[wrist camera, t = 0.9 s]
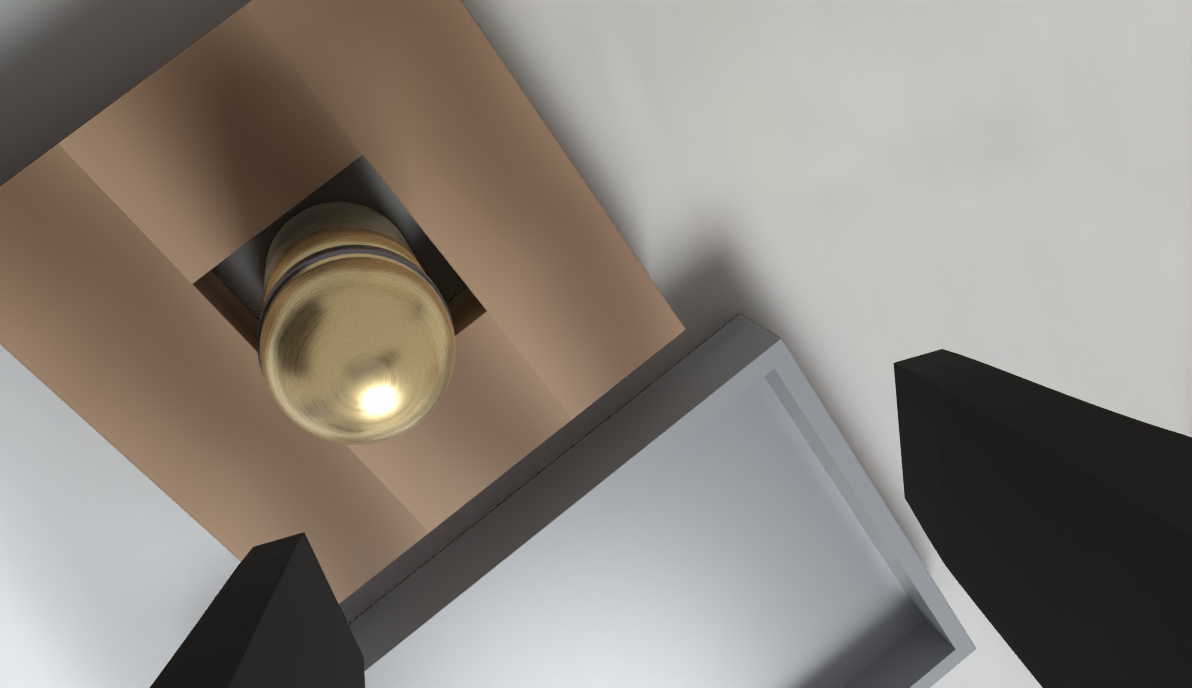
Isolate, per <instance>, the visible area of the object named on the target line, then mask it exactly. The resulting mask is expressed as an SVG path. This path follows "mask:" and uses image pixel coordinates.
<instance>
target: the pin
mask: <svg viewBox="0 0 1192 688" xmlns="http://www.w3.org/2000/svg"><path fill="white" fill-rule="evenodd" d="M257 353H258V360H259V365H260V368H261V372H262V375H263V377H264V380H265V383H266V385H267V387H268V390H269V392H270V394H271V395H272V397H273V399H274V400H275V402H276V403H277V405H278V406H279V408H280V409H281V410H282V411H283V412H284V413H285V415H286V416H287V417H288V418H290V419H291V420H292V421H293V422H294V423H295V424H296V425H298V426H299V427H301V428H302V429H304V430H305V431H307V432H309V433H311V434H313V435H315V436H317V437H319V438H322V439H325V440H327V441H330V442H335V443H339V444H347V445H369V444H376V443H380V442H384V441H388V440H391V439H393V438H396V437H399V436H401V435H403V434H404V433H406V432H408V431H410V430H412V429H413V428H414V427H416V426H417V425H419V424H420V423H421V422H422V421H423V420H425V419H426V418H427V417H428V416H429V415H430V414H431V412H432V411H433V410H434V409H435V408H436V406H437V405H438V403H439V402H440V401H441V399H442V398H443V396H444V394H445V392H446V390H447V388H448V386H449V383H450V381H451V378H452V375H453V370H454V365H455V355H456V343H455V334H454V327H453V322H452V317H451V315H450V312H449V309H448V306H447V304H446V303H445V301H444V299H443V297H442V295H441V293H440V292H439V290H438V288H437V287H436V286H435V284H434V283H433V281H432V280H431V279H430V278H429V277H428V275H427V274H426V273H425V272H424V270H423V268H422V267H421V265H420V263H419V262H418V260H417V258H416V257H415V255H414V254H413V252H412V250H411V249H410V247H409V245H408V244H407V242H406V240H405V239H404V237H403V235H402V234H401V233H400V231H399V230H398V229H397V228H396V226H395V225H394V224H393V223H392V222H391V221H389V220H388V219H387V218H386V217H385V216H383V215H382V214H380V213H378V212H377V211H375V210H373V209H371V208H369V207H366V206H363V205H360V204H356V203H350V202H327V203H322V204H318V205H315V206H312V207H309V208H307V209H305V210H303V211H301V212H299V213H298V214H296V215H295V216H293V217H292V218H291V219H290V220H288V221H287V222H286V223H285V224H284V225H283V226H282V228H281V229H280V230H279V231H278V233H277V234H276V236H275V237H274V239H273V241H272V243H271V245H270V248H269V251H268V254H267V259H266V265H265V279H264V292H263V305H262V311H261V314H260V319H259V325H258V334H257Z"/></svg>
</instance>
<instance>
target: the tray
mask: <svg viewBox="0 0 1192 688" xmlns="http://www.w3.org/2000/svg"><path fill="white" fill-rule="evenodd" d="M349 627H350V629H351V631H352V633H353V636H354V638H355V640H356V642H357V644H358V646H359V648H360V650H361V652H362V655H363V657H364V673H365V688H930V687H931V686H932V685H934V684H935V683H936V682H937V681H938V680H940V679H941V678H942V677H943V676H944V675H946V674H947V673H948V672H949V671H950V670H952V669H953V668H954V667H955V666H956V665H957V664H959V663H960V662H961V661H962V660H963V659H965V658H966V657H967V656H968V655H969V654H971V653H972V652H973V651H974V650H975V649H976V647H975V645H974V644H973V642H972V641H971V639H970V637H969V636H968V634H967V633H966V631H965V629H964V628H963V626H962V625H961V623H960V621H959V620H958V618H957V617H956V615H955V614H954V612H953V610H952V609H951V607H950V606H949V604H948V602H947V601H946V599H945V598H944V596H943V594H942V593H941V591H940V590H939V588H938V587H937V585H936V583H935V582H934V580H933V579H932V577H931V575H930V574H929V572H928V571H927V569H926V567H925V566H924V564H923V563H922V561H921V560H920V558H919V556H918V555H917V553H916V552H915V550H914V548H913V547H912V545H911V544H910V542H909V540H908V539H907V537H906V536H905V534H904V532H903V531H902V529H901V528H900V526H899V525H898V523H897V521H896V520H895V518H894V517H893V515H892V513H891V512H890V510H889V509H888V507H887V505H886V504H885V502H884V501H883V499H882V498H881V496H880V494H879V493H878V491H877V490H876V488H875V486H874V485H873V483H872V482H871V480H870V478H869V477H868V475H867V474H866V472H865V470H864V469H863V467H862V466H861V464H860V463H859V461H858V459H857V458H856V456H855V455H854V453H853V451H852V450H851V448H850V447H849V445H848V443H847V442H846V440H845V439H844V437H843V436H842V434H841V432H840V431H839V429H838V428H837V426H836V424H835V423H834V421H833V420H832V418H831V416H830V415H829V413H828V412H827V410H826V408H825V407H824V405H823V404H822V402H821V401H820V399H819V397H818V396H817V394H816V393H815V391H814V389H813V388H812V386H811V385H810V383H809V381H808V380H807V378H806V377H805V375H804V374H803V372H802V370H801V369H800V367H799V366H798V364H797V362H796V361H795V359H794V358H793V356H792V354H791V353H790V351H789V350H788V348H787V346H786V345H785V343H784V342H783V340H782V339H781V338H780V337H778V336H777V335H775V334H773V333H772V332H770V331H768V330H767V329H765V328H763V327H762V326H760V325H758V324H757V323H755V322H753V321H752V320H750V319H749V318H747V317H745V316H744V315H742V314H739V315H738V316H737V317H735V318H734V319H733V320H731V321H730V322H729V323H728V324H726V325H725V326H724V327H723V328H721V329H720V330H719V331H718V332H716V333H715V334H714V335H713V336H711V337H710V338H709V339H708V340H706V341H705V342H704V343H703V344H701V345H700V346H699V347H697V348H696V349H695V350H694V351H692V352H691V353H690V354H689V355H687V356H686V357H685V358H684V359H682V360H681V361H680V362H679V363H677V364H676V365H675V366H674V367H672V368H671V369H670V370H669V371H667V372H666V373H665V374H664V375H662V376H661V377H660V378H658V379H657V380H656V381H655V382H653V383H652V384H651V385H650V386H648V387H647V388H646V389H645V390H643V391H642V392H641V393H640V394H638V395H637V396H636V397H635V398H633V399H632V400H631V401H630V402H628V403H627V404H626V405H624V406H623V407H622V408H621V409H619V410H618V411H617V412H616V413H614V414H613V415H612V416H611V417H609V418H608V419H607V420H606V421H604V422H603V423H602V424H601V425H599V426H598V427H597V428H596V429H594V430H593V431H592V432H590V433H589V434H588V435H587V436H585V437H584V438H583V439H582V440H580V441H579V442H578V443H577V444H575V445H574V446H573V447H572V448H570V449H569V450H568V451H567V452H565V453H564V454H563V455H562V456H560V457H559V458H558V459H556V460H555V461H554V462H553V463H551V464H550V465H549V466H548V467H546V468H545V469H544V470H543V471H541V472H540V473H539V474H538V475H536V476H535V477H534V478H533V479H531V480H530V481H529V482H528V483H526V484H525V485H524V486H522V487H521V488H520V489H519V490H517V491H516V492H515V493H514V494H512V495H511V496H510V497H509V498H507V499H506V500H505V501H504V502H502V503H501V504H500V505H499V506H497V507H496V508H495V509H494V510H492V511H491V512H490V513H489V514H487V515H486V516H485V517H483V518H482V519H481V520H480V521H478V522H477V523H476V524H475V525H473V526H472V527H471V528H470V529H468V530H467V531H466V532H465V533H463V534H462V535H461V536H460V537H458V538H457V539H456V540H455V541H453V542H452V543H451V544H449V545H448V546H447V547H446V548H444V549H443V550H442V551H441V552H439V553H438V554H437V555H436V556H434V557H433V558H432V559H431V560H429V561H428V562H427V563H426V564H424V565H423V566H422V567H421V568H419V569H418V570H417V571H415V572H414V573H413V574H412V575H410V576H409V577H408V578H407V579H405V580H404V581H403V582H402V583H400V584H399V585H398V586H397V587H395V588H394V589H393V590H392V591H390V592H389V593H388V594H387V595H385V596H384V597H383V598H381V599H380V600H379V601H378V602H376V603H375V604H374V605H373V606H371V607H370V608H369V609H368V610H366V611H365V612H364V613H363V614H361V615H360V616H359V617H358V618H356V619H355V620H354V621H353V622H351V623H350V624H349Z"/></svg>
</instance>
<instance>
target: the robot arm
mask: <svg viewBox="0 0 1192 688" xmlns="http://www.w3.org/2000/svg"><path fill="white" fill-rule="evenodd" d="M894 372H895V384H896V396H897V409H898V421H899V433H900V445H901V457H902V469H903V481H904V493H905V499H906V501H907V502H908V504H909V506H910V507H911V509H912V511H913V513H914V514H915V516H916V518H917V519H918V521H919V523H920V525H921V526H922V528H923V530H924V532H925V533H926V535H927V537H928V538H929V540H930V541H931V543H932V545H933V546H934V548H935V549H936V551H937V553H938V554H939V556H940V558H941V559H942V561H943V562H944V564H945V566H946V567H947V568H948V569H949V571H950V572H951V573H952V575H953V576H954V577H955V578H956V580H957V581H958V582H959V584H960V585H961V586H962V587H963V589H964V590H965V591H966V592H967V594H968V595H969V596H970V598H971V599H972V600H973V601H974V603H975V604H976V605H977V606H978V608H979V609H980V610H981V611H982V613H983V614H984V615H985V616H986V618H987V619H988V620H989V621H990V623H991V624H992V625H993V626H994V628H995V629H996V630H997V631H998V633H999V634H1000V635H1001V636H1002V638H1003V639H1004V640H1005V641H1006V643H1007V644H1008V645H1009V646H1010V648H1011V649H1012V650H1013V651H1014V653H1015V654H1016V655H1017V656H1018V658H1019V659H1020V660H1021V661H1022V662H1023V664H1024V665H1025V666H1026V667H1027V669H1028V670H1029V671H1030V672H1031V674H1032V675H1033V676H1034V677H1035V679H1036V680H1037V681H1038V682H1039V684H1040V685H1041V686H1042V687H1043V688H1192V437H1189V436H1186V435H1183V434H1179V433H1176V432H1173V431H1170V430H1167V429H1163V428H1160V427H1157V426H1154V425H1151V424H1147V423H1145V422H1142V421H1139V420H1136V419H1133V418H1130V417H1127V416H1124V415H1121V414H1118V413H1115V412H1112V411H1110V410H1107V409H1104V408H1101V407H1098V406H1096V405H1093V404H1090V403H1087V402H1085V401H1082V400H1079V399H1076V398H1074V397H1071V396H1068V395H1066V394H1063V393H1060V392H1058V391H1055V390H1052V389H1050V388H1047V387H1045V386H1042V385H1039V384H1037V383H1034V382H1032V381H1029V380H1026V379H1024V378H1021V377H1018V376H1016V375H1013V374H1011V373H1008V372H1005V371H1003V370H1000V369H998V368H995V367H992V366H990V365H987V364H984V363H982V362H979V361H976V360H974V359H971V358H968V357H965V356H962V355H959V354H956V353H953V352H950V351H947V350H943V349H941V350H937V351H934V352H930V353H927V354H923V355H920V356H916V357H913V358H909V359H906V360H903V361H899V362H896V363H894ZM150 688H365V673H364V657H363V655H362V652H361V650H360V648H359V646H358V644H357V642H356V640H355V638H354V636H353V633H352V631H351V629H350V627H349V625H348V623H347V621H346V619H345V617H344V614H343V612H342V610H341V608H340V606H339V604H338V602H337V600H336V598H335V595H334V593H333V591H332V589H331V587H330V585H329V583H328V581H327V579H326V577H325V574H324V572H323V570H322V568H321V566H320V564H319V562H318V560H317V558H316V555H315V553H314V551H313V549H312V547H311V545H310V543H309V541H308V539H307V536H306V534H305V532H303V533H299V534H296V535H292V536H289V537H285V538H282V539H278V540H275V541H271V542H268V543H264V544H261V545H257V546H254V547H253V548H252V549H251V550H250V551H249V553H248V554H247V555H246V556H245V558H244V559H243V560H242V561H241V563H240V564H239V565H238V567H237V568H236V569H235V571H234V572H233V574H232V575H231V576H230V578H229V579H228V581H227V582H226V583H225V585H224V586H223V587H222V589H221V590H220V592H219V593H218V595H217V596H216V597H215V599H214V600H213V602H212V603H211V604H210V606H209V607H208V609H207V610H206V611H205V613H204V614H203V616H202V617H201V618H200V620H199V621H198V623H197V624H196V625H195V627H194V628H193V630H192V631H191V632H190V634H189V635H188V636H187V638H186V639H185V640H184V642H183V643H182V645H181V646H180V647H179V649H178V650H177V651H176V653H175V654H174V656H173V657H172V658H171V660H170V661H169V662H168V664H167V665H166V666H165V668H164V669H163V671H162V672H161V673H160V675H159V676H158V677H157V679H156V680H155V681H154V683H153V684H152V685H151V687H150Z"/></svg>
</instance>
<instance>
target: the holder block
mask: <svg viewBox="0 0 1192 688" xmlns="http://www.w3.org/2000/svg"><path fill="white" fill-rule="evenodd" d="M362 155H363V156H364V157H365V158H366V159H367V161H368V162H369V163H370V164H371V166H372V167H373V168H374V169H375V171H376V172H377V173H378V174H379V176H380V177H381V178H382V179H383V181H384V182H385V183H386V185H387V186H388V187H389V188H390V190H391V191H392V192H393V193H394V195H395V196H396V197H397V198H398V200H399V201H400V202H401V203H402V205H403V206H404V207H405V208H406V210H407V211H408V212H409V213H410V215H411V216H412V217H413V218H414V220H415V221H416V222H417V224H418V225H419V226H420V227H421V229H422V230H423V231H424V232H425V234H426V235H427V236H428V237H429V239H430V240H431V241H432V242H433V244H434V245H435V246H436V247H437V249H438V250H439V251H440V252H441V254H442V255H443V256H444V257H445V259H446V260H447V261H448V263H449V264H450V265H451V266H452V268H453V269H454V270H455V271H456V273H457V274H458V275H459V276H460V278H461V279H462V280H463V281H464V283H465V284H466V285H467V286H468V287H467V288H465V289H464V290H463V291H462V292H460V293H459V294H458V295H456V296H455V297H454V298H453V299H451V300H450V301H449V302H447V303H446V304H447V306H448V309H449V312H450V315H451V317H452V322H453V327H454V334H455V343H456V355H455V365H454V370H453V375H452V378H451V381H450V383H449V386H448V388H447V390H446V392H445V394H444V396H443V398H442V399H441V401H440V402H439V403H438V405H437V406H436V408H435V409H434V410H433V411H432V412H431V414H430V415H429V416H428V417H427V418H426V419H425V420H423V421H422V422H421V423H420V424H419V425H417V426H416V427H414V428H413V429H412V430H410V431H408V432H406V433H404V434H403V435H401V436H399V437H396V438H393V439H391V440H388V441H384V442H380V443H376V444H369V445H347V444H339V443H335V442H330V441H327V440H325V439H322V438H319V437H317V436H315V435H313V434H311V433H309V432H307V431H305V430H304V429H302V428H301V427H299V426H298V425H296V424H295V423H294V422H293V421H292V420H291V419H290V418H288V417H287V416H286V415H285V413H284V412H283V411H282V410H281V409H280V408H279V406H278V405H277V403H276V402H275V400H274V399H273V397H272V395H271V394H270V392H269V390H268V387H267V385H266V383H265V380H264V377H263V375H262V372H261V368H260V365H259V360H258V353H257V334H258V325H259V320H258V319H257V318H256V317H255V316H254V315H253V314H252V313H251V312H250V310H249V309H248V308H247V307H246V306H245V305H244V304H243V303H242V302H241V301H240V300H239V299H238V298H237V297H236V296H235V294H234V293H233V292H232V291H231V290H230V289H229V288H228V287H227V286H226V285H225V284H224V283H223V282H222V281H221V280H220V278H219V277H218V276H217V275H216V274H215V273H214V272H213V271H212V270H211V269H213V268H214V267H215V266H217V265H218V264H219V263H221V262H222V261H223V260H225V259H226V258H227V257H229V256H230V255H231V254H232V253H234V252H235V251H236V250H238V249H239V248H240V247H242V246H243V245H244V244H246V243H247V242H248V241H250V240H251V239H252V238H254V237H255V236H256V235H258V234H259V233H260V232H261V231H263V230H264V229H265V228H267V227H268V226H269V225H271V224H272V223H273V222H275V221H276V220H277V219H279V218H280V217H281V216H283V215H284V214H285V213H287V212H288V211H289V210H291V209H292V208H293V207H294V206H296V205H297V204H298V203H300V202H301V201H302V200H304V199H305V198H306V197H308V196H309V195H310V194H312V193H313V192H314V191H316V190H317V189H318V188H320V187H321V186H322V185H323V184H325V183H326V182H327V181H329V180H330V179H331V178H333V177H334V176H335V175H337V174H338V173H339V172H341V171H342V170H343V169H345V168H346V167H347V166H349V165H350V164H351V163H352V162H354V161H355V160H356V159H358V158H359V157H360V156H362ZM685 330H686V329H685V328H684V326H683V325H682V323H681V322H680V320H679V319H678V318H677V316H676V315H675V313H674V312H673V310H672V309H671V307H670V306H669V304H668V303H667V301H666V300H665V299H664V297H663V296H662V294H661V293H660V291H659V290H658V288H657V287H656V285H655V284H654V282H653V281H652V280H651V278H650V277H649V275H648V274H647V272H646V271H645V269H644V268H643V266H642V265H641V263H640V262H639V261H638V259H637V258H636V256H635V255H634V253H633V252H632V250H631V249H630V247H629V246H628V244H627V243H626V241H625V240H624V239H623V237H622V236H621V234H620V233H619V231H618V230H617V228H616V227H615V225H614V224H613V222H612V221H611V220H610V218H609V217H608V215H607V214H606V212H605V211H604V209H603V208H602V206H601V205H600V203H599V202H598V201H597V199H596V198H595V196H594V195H593V193H592V192H591V190H590V189H589V187H588V186H587V184H586V183H585V182H584V180H583V179H582V177H581V176H580V174H579V173H578V171H577V170H576V168H575V167H574V165H573V164H572V163H571V161H570V160H569V158H568V157H567V155H566V154H565V152H564V151H563V149H562V148H561V146H560V145H559V143H558V142H557V141H556V139H555V138H554V136H553V135H552V133H551V132H550V130H549V129H548V127H547V126H546V124H545V123H544V122H543V120H542V119H541V117H540V116H539V114H538V113H537V111H536V110H535V108H534V107H533V105H532V104H531V103H530V101H529V100H528V98H527V97H526V95H525V94H524V92H523V91H522V89H521V88H520V86H519V85H518V84H517V82H516V81H515V79H514V78H513V76H512V75H511V73H510V72H509V70H508V69H507V67H506V66H505V65H504V63H503V62H502V60H501V59H500V57H499V56H498V54H497V53H496V51H495V50H494V48H493V47H492V45H491V44H490V43H489V41H488V40H487V38H486V37H485V35H484V34H483V32H482V31H481V29H480V28H479V26H478V25H477V24H476V22H475V21H474V19H473V18H472V16H471V15H470V13H469V12H468V10H467V9H466V7H465V6H464V5H463V3H462V2H461V0H251V1H250V2H249V3H247V4H246V5H245V6H243V7H242V8H241V9H239V10H238V11H237V12H235V13H234V14H233V15H231V16H230V17H228V18H227V19H226V20H224V21H223V22H222V23H220V24H219V25H218V26H216V27H215V28H214V29H212V30H211V31H210V32H208V33H207V34H206V35H204V36H203V37H201V38H200V39H199V40H197V41H196V42H195V43H193V44H192V45H191V46H189V47H188V48H187V49H185V50H184V51H183V52H181V53H180V54H178V55H177V56H176V57H174V58H173V59H172V60H170V61H169V62H168V63H166V64H165V65H164V66H162V67H161V68H160V69H158V70H157V71H155V72H154V73H153V74H151V75H150V76H149V77H147V78H146V79H145V80H143V81H142V82H141V83H139V84H138V85H137V86H135V87H134V88H133V89H131V90H130V91H128V92H127V93H126V94H124V95H123V96H122V97H120V98H119V99H118V100H116V101H115V102H114V103H112V104H111V105H110V106H108V107H107V108H105V109H104V110H103V111H101V112H100V113H99V114H97V115H96V116H95V117H93V118H92V119H91V120H89V121H88V122H87V123H85V124H84V125H82V126H81V127H80V128H78V129H77V130H76V131H74V132H73V133H72V134H70V135H69V136H68V137H66V138H65V139H64V140H62V141H61V142H60V143H58V144H57V145H55V146H54V147H53V148H51V149H50V150H49V151H47V152H46V153H45V154H43V155H42V156H41V157H39V158H38V159H37V160H35V161H34V162H32V163H31V164H30V165H28V166H27V167H26V168H24V169H23V170H22V171H20V172H19V173H18V174H16V175H15V176H14V177H12V178H11V179H9V180H8V181H7V182H5V183H4V184H3V185H1V186H0V344H1V345H2V346H3V347H4V348H5V349H6V350H7V351H8V352H10V353H11V354H12V355H13V356H14V357H15V358H16V359H17V360H18V361H20V362H21V363H22V364H23V365H24V366H25V367H26V368H27V369H28V370H29V371H31V372H32V373H33V374H34V375H35V376H36V377H37V378H38V379H39V380H41V381H42V382H43V383H44V384H45V385H46V386H47V387H48V388H49V389H51V390H52V391H53V392H54V393H55V394H56V395H57V396H58V397H59V398H61V399H62V400H63V401H64V402H65V403H66V404H67V405H68V406H69V407H70V408H72V409H73V410H74V411H75V412H76V413H77V414H78V415H79V416H80V417H82V418H83V419H84V420H85V421H86V422H87V423H88V424H89V425H90V426H92V427H93V428H94V429H95V430H96V431H97V432H98V433H99V434H100V435H102V436H103V437H104V438H105V439H106V440H107V441H108V442H109V443H110V444H111V445H113V446H114V447H115V448H116V449H117V450H118V451H119V452H120V453H121V454H123V455H124V456H125V457H126V458H127V459H128V460H129V461H130V462H131V463H133V464H134V465H135V466H136V467H137V468H138V469H139V470H140V471H141V472H143V473H144V474H145V475H146V476H147V477H148V478H149V479H150V480H151V481H152V482H154V483H155V484H156V485H157V486H158V487H159V488H160V489H161V490H162V491H164V492H165V493H166V494H167V495H168V496H169V497H170V498H171V499H172V500H174V501H175V502H176V503H177V504H178V505H179V506H180V507H181V508H182V509H184V510H185V511H186V512H187V513H188V514H189V515H190V516H191V517H192V518H193V519H195V520H196V521H197V522H198V523H199V524H200V525H201V526H202V527H203V528H205V529H206V530H207V531H208V532H209V533H210V534H211V535H212V536H213V537H215V538H216V539H217V540H218V541H219V542H220V543H221V544H222V545H223V546H225V547H226V548H227V549H228V550H229V551H230V552H231V553H232V554H233V555H234V556H236V557H237V558H238V559H239V560H240V561H242V560H243V559H244V558H245V556H246V555H247V554H248V553H249V551H250V550H251V549H252V548H253V547H254V546H257V545H261V544H264V543H268V542H271V541H275V540H278V539H282V538H285V537H289V536H292V535H296V534H299V533H303V532H305V534H306V536H307V539H308V541H309V543H310V545H311V547H312V549H313V551H314V553H315V555H316V558H317V560H318V562H319V564H320V566H321V568H322V570H323V572H324V574H325V577H326V579H327V581H328V583H329V585H330V587H331V589H332V591H333V593H334V595H335V598H336V600H337V602H338V604H340V603H341V602H342V601H344V600H345V599H346V598H347V597H349V596H350V595H351V594H353V593H354V592H355V591H356V590H358V589H359V588H360V587H361V586H363V585H364V584H365V583H366V582H368V581H369V580H370V579H371V578H373V577H374V576H375V575H376V574H378V573H379V572H380V571H382V570H383V569H384V568H385V567H387V566H388V565H389V564H390V563H392V562H393V561H394V560H395V559H397V558H398V557H399V556H400V555H402V554H403V553H404V552H406V551H407V550H408V549H409V548H411V547H412V546H413V545H414V544H416V543H417V542H418V541H419V540H421V539H422V538H423V537H424V536H426V535H427V534H428V533H430V532H431V531H432V530H433V529H435V528H436V527H437V526H438V525H440V524H441V523H442V522H443V521H445V520H446V519H447V518H448V517H450V516H451V515H452V514H454V513H455V512H456V511H457V510H459V509H460V508H461V507H462V506H464V505H465V504H466V503H467V502H469V501H470V500H471V499H472V498H474V497H475V496H476V495H477V494H479V493H480V492H481V491H483V490H484V489H485V488H486V487H488V486H489V485H490V484H491V483H493V482H494V481H495V480H496V479H498V478H499V477H500V476H501V475H503V474H504V473H505V472H507V471H508V470H509V469H510V468H512V467H513V466H514V465H515V464H517V463H518V462H519V461H520V460H522V459H523V458H524V457H525V456H527V455H528V454H529V453H531V452H532V451H533V450H534V449H536V448H537V447H538V446H539V445H541V444H542V443H543V442H544V441H546V440H547V439H548V438H549V437H551V436H552V435H553V434H555V433H556V432H557V431H558V430H560V429H561V428H562V427H563V426H565V425H566V424H567V423H568V422H570V421H571V420H572V419H573V418H575V417H576V416H577V415H578V414H580V413H581V412H582V411H584V410H585V409H586V408H587V407H589V406H590V405H591V404H592V403H594V402H595V401H596V400H597V399H599V398H600V397H601V396H602V395H604V394H605V393H606V392H608V391H609V390H610V389H611V388H613V387H614V386H615V385H616V384H618V383H619V382H620V381H621V380H623V379H624V378H625V377H626V376H628V375H629V374H630V373H632V372H633V371H634V370H635V369H637V368H638V367H639V366H640V365H642V364H643V363H644V362H645V361H647V360H648V359H649V358H650V357H652V356H653V355H654V354H656V353H657V352H658V351H659V350H661V349H662V348H663V347H664V346H666V345H667V344H668V343H669V342H671V341H672V340H673V339H674V338H676V337H677V336H678V335H679V334H681V333H682V332H683V331H685Z"/></svg>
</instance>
